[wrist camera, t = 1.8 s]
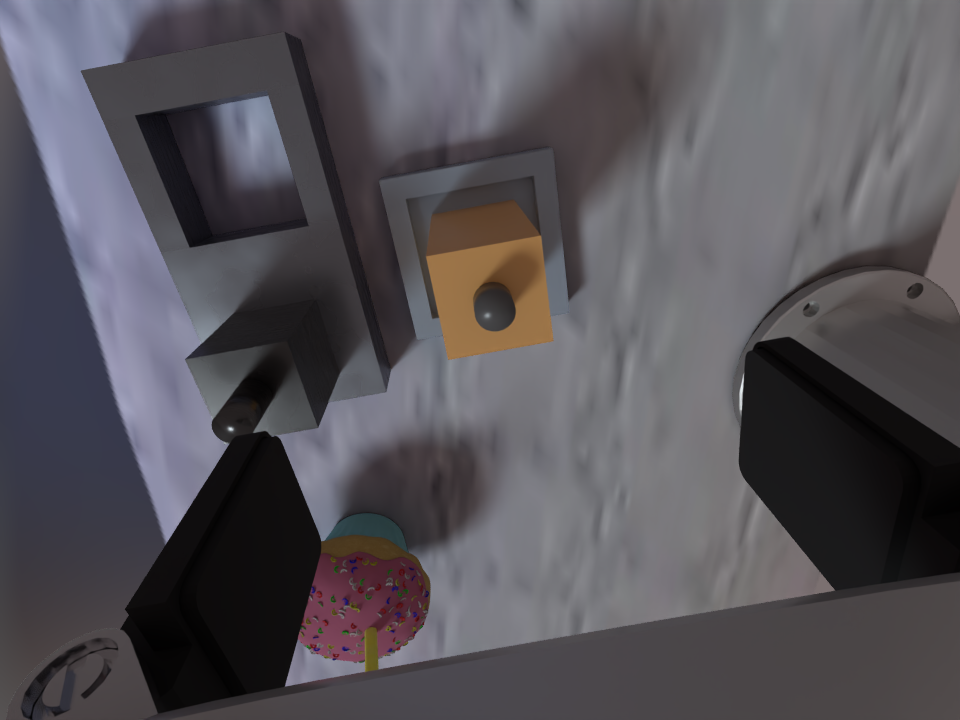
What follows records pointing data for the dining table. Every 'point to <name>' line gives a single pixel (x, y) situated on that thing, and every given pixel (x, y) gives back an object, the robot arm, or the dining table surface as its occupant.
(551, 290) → the tray
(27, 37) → the dining table surface
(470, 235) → the plug
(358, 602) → the cupcake
